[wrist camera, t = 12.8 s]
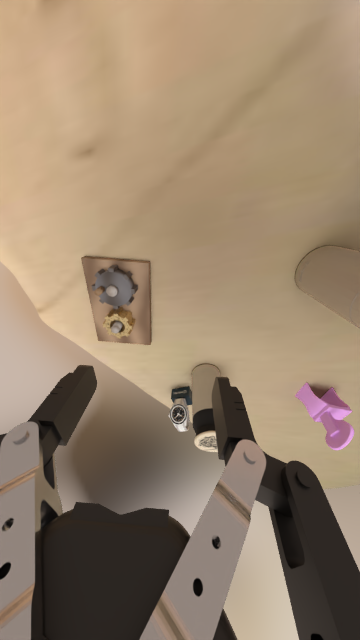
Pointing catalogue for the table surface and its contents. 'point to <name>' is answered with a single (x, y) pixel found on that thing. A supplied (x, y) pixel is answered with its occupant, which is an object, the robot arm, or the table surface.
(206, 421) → the travel mug
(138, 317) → the gear board
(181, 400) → the watch
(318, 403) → the toy chair
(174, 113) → the table surface
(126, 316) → the brass gear
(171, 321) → the table surface
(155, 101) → the table surface
